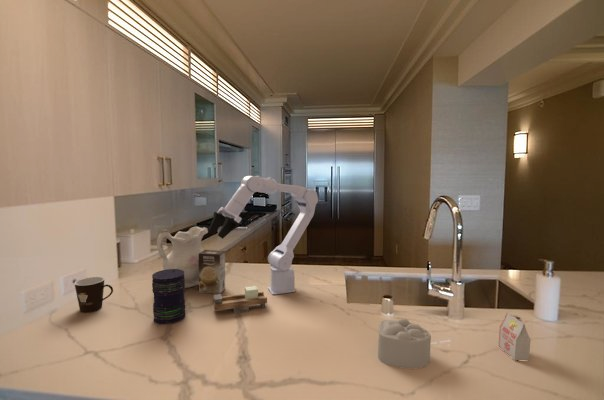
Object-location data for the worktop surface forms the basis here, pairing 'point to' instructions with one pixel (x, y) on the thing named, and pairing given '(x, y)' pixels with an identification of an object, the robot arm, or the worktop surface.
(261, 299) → the beam
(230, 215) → the robot arm
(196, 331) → the worktop surface
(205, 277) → the coffee box
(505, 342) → the gable top carton
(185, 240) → the ceramic pitcher
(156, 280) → the storage jar
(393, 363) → the lumpy-topped squat cylinder
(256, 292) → the block
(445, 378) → the worktop surface
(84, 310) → the coffee mug
